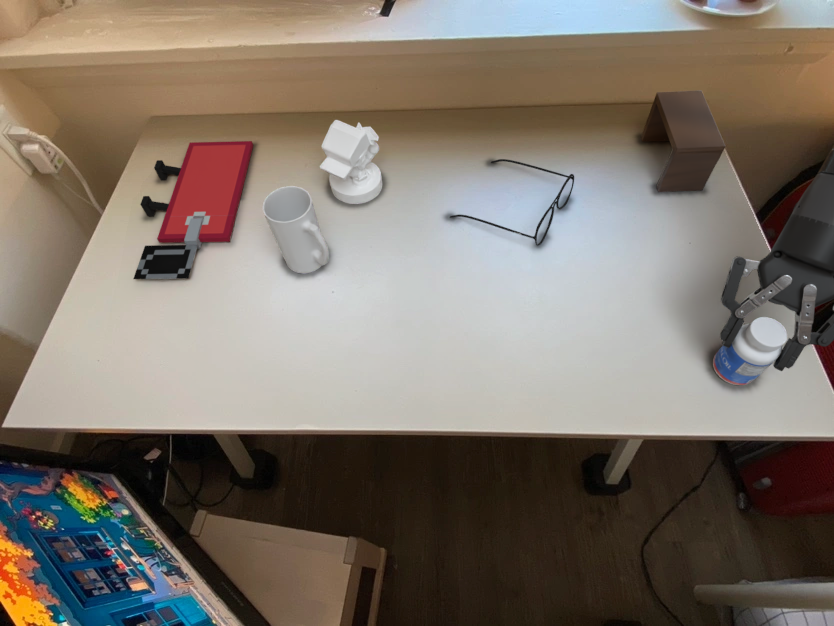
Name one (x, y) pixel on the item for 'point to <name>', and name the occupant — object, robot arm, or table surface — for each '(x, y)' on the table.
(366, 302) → the table surface
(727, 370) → the pill bottle
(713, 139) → the walnut shelf
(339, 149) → the character figurine
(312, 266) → the mug
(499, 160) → the glasses
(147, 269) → the red board with handle
